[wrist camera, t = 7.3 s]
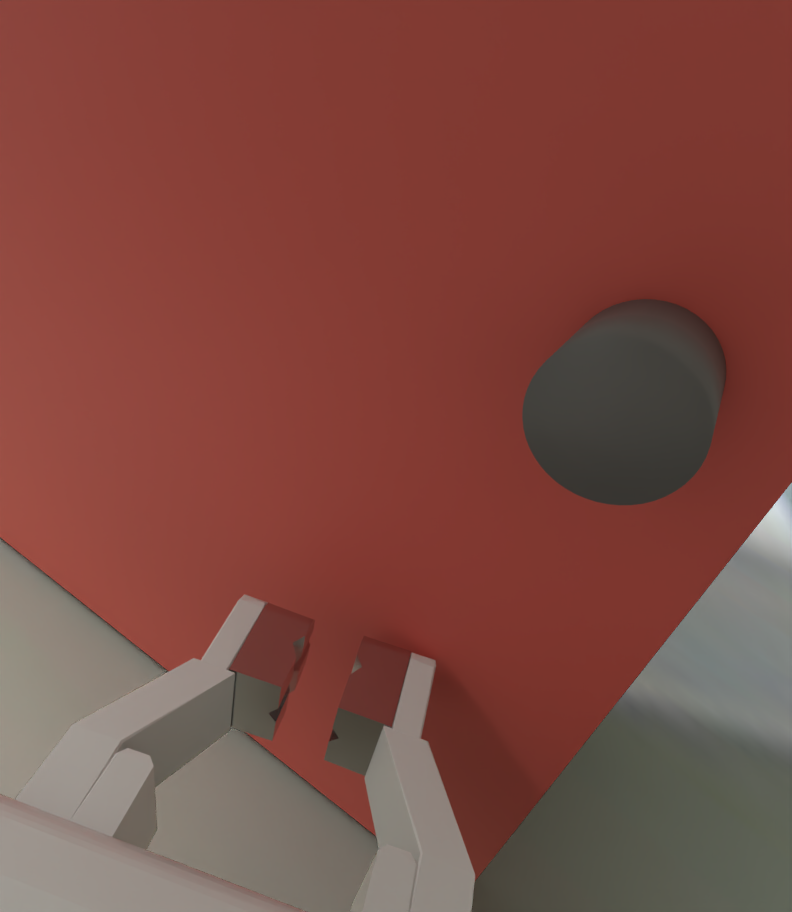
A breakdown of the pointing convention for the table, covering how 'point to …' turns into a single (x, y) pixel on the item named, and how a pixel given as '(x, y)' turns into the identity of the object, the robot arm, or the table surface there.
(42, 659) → the table surface
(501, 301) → the door
